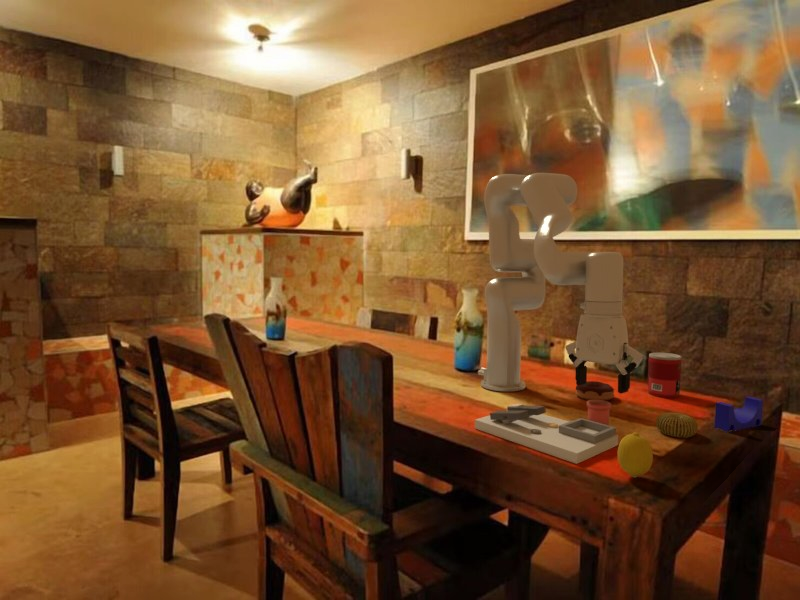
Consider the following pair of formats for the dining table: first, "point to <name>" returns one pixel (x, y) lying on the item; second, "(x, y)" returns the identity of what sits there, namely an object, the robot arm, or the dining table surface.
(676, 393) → the canned food
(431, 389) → the dining table surface
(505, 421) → the plain rocker
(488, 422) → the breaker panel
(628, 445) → the lemon
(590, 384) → the donut
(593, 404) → the cap
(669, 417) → the sculpture
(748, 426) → the blue pipe cradle
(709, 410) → the dining table surface
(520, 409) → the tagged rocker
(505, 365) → the robot arm
